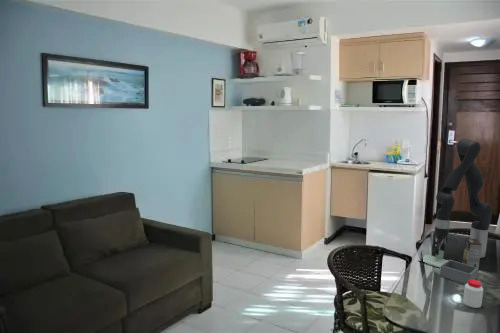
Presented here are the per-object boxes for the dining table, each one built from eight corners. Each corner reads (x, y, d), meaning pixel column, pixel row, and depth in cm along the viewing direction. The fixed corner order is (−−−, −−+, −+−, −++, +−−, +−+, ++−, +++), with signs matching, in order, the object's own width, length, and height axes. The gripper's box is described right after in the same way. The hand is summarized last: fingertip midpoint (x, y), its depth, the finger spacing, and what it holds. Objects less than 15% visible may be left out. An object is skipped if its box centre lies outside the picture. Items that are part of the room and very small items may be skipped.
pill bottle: (459, 299, 202) (462, 278, 200) (474, 299, 203) (477, 278, 201) (469, 308, 195) (471, 285, 193) (484, 307, 195) (487, 285, 193)
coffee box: (461, 263, 244) (464, 237, 241) (473, 265, 243) (476, 238, 240) (466, 270, 235) (469, 243, 232) (478, 271, 234) (482, 244, 231)
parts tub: (448, 269, 236) (449, 259, 235) (477, 278, 225) (478, 267, 224) (439, 276, 228) (440, 265, 226) (469, 285, 217) (470, 274, 216)
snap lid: (426, 256, 255) (427, 246, 254) (452, 264, 244) (454, 253, 243) (417, 262, 246) (418, 251, 245) (444, 270, 235) (445, 259, 234)
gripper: (440, 222, 252) (437, 247, 255) (430, 227, 242) (427, 254, 245) (453, 225, 247) (450, 251, 250) (443, 230, 237) (441, 257, 240)
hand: (439, 252), depth 247 cm, fingers open, 8 cm apart
